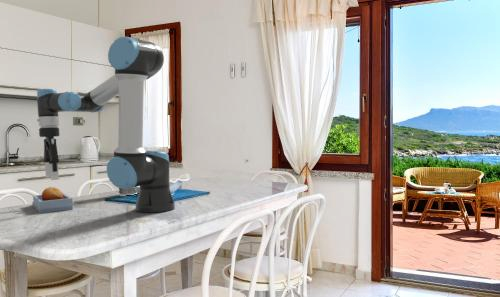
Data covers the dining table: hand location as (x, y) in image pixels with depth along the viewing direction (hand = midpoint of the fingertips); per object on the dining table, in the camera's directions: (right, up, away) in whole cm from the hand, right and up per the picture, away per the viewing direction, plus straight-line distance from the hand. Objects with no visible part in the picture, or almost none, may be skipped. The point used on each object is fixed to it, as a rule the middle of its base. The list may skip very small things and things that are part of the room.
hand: (52, 178), depth 182 cm
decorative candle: (+23, -10, +32) cm, 40 cm away
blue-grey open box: (-1, -12, +2) cm, 12 cm away
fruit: (0, -11, +1) cm, 11 cm away
